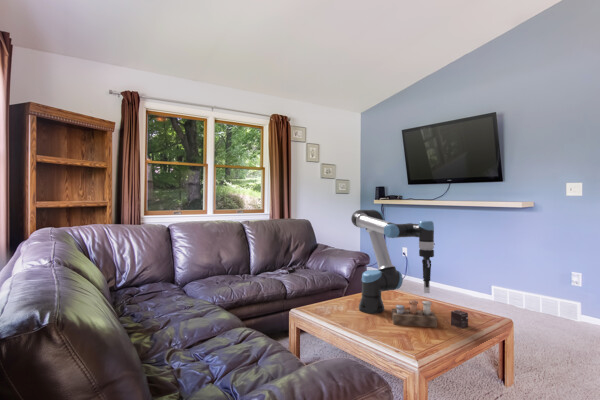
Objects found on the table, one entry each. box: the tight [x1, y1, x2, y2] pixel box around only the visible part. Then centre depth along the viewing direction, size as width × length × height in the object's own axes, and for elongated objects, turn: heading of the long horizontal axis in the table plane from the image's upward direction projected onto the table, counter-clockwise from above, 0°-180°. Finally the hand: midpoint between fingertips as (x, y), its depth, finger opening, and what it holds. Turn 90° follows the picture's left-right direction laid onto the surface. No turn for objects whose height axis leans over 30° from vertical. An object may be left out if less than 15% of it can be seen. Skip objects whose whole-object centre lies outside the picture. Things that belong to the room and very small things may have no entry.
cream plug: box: [421, 300, 432, 315], centre depth 180 cm, size 5×5×8 cm
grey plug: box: [395, 304, 406, 314], centre depth 183 cm, size 5×5×8 cm
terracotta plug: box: [408, 299, 419, 315], centre depth 181 cm, size 5×5×8 cm
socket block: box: [391, 308, 438, 328], centre depth 181 cm, size 22×11×5 cm, turn 79°
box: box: [450, 309, 469, 329], centre depth 177 cm, size 6×6×7 cm
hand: (426, 292), depth 180 cm, fingers closed
